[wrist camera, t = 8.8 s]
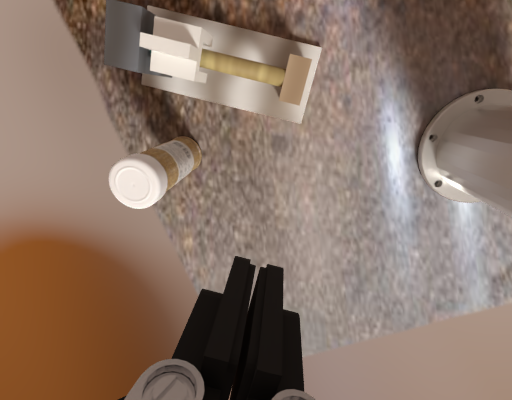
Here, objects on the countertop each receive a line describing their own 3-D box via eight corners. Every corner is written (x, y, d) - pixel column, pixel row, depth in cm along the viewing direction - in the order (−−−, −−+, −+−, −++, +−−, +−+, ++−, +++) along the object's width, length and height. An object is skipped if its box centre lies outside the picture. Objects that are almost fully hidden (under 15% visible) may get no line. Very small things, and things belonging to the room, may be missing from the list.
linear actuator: (321, 48, 31) (334, 31, 22) (300, 123, 34) (305, 132, 25) (150, 7, 31) (100, -26, 23) (144, 84, 34) (97, 80, 26)
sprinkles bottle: (161, 145, 36) (95, 171, 24) (191, 129, 35) (139, 147, 23) (179, 177, 38) (126, 218, 25) (209, 162, 36) (169, 197, 24)
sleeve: (213, 36, 27) (193, 20, 22) (205, 83, 29) (185, 79, 23) (172, 26, 27) (142, 8, 22) (167, 73, 29) (137, 68, 23)
